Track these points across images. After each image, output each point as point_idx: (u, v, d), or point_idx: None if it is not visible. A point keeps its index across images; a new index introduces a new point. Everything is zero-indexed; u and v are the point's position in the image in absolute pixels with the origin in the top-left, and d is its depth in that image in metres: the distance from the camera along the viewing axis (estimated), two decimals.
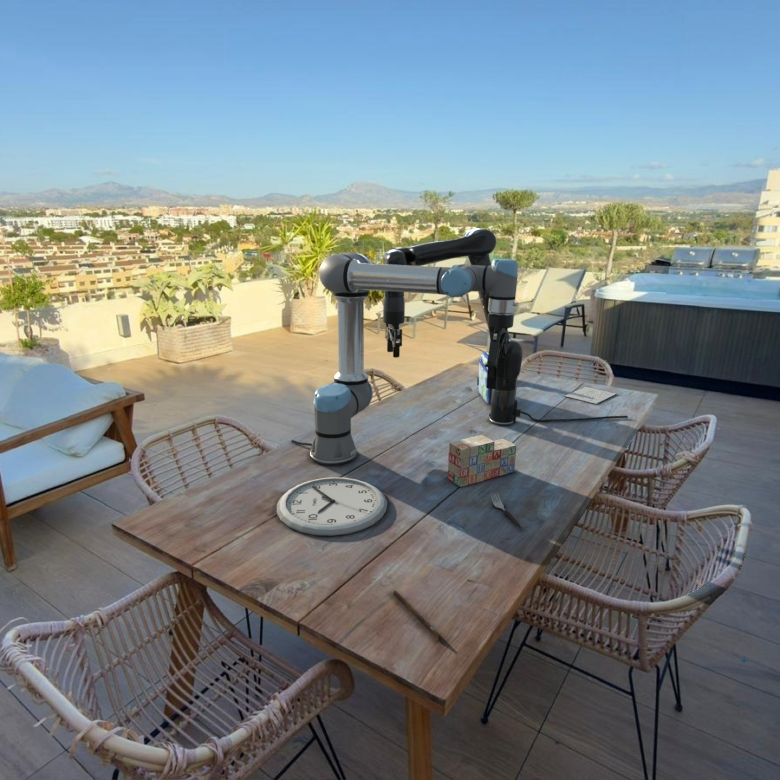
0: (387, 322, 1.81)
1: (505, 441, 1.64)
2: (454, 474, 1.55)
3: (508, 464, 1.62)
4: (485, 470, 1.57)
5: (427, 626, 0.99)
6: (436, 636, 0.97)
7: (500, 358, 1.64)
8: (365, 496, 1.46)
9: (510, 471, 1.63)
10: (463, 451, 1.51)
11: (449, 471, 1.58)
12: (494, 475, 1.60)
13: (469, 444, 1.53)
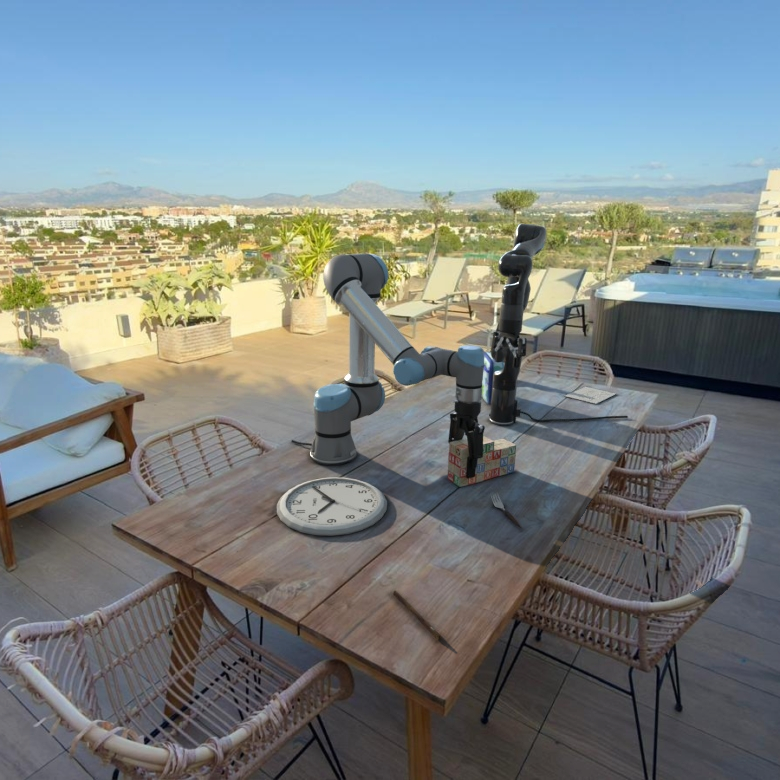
0: None
1: (505, 441, 1.64)
2: (454, 474, 1.55)
3: (508, 464, 1.62)
4: (485, 470, 1.57)
5: (427, 626, 0.99)
6: (436, 636, 0.97)
7: None
8: (365, 496, 1.46)
9: (510, 471, 1.63)
10: (463, 451, 1.51)
11: (449, 471, 1.58)
12: (494, 475, 1.60)
13: None
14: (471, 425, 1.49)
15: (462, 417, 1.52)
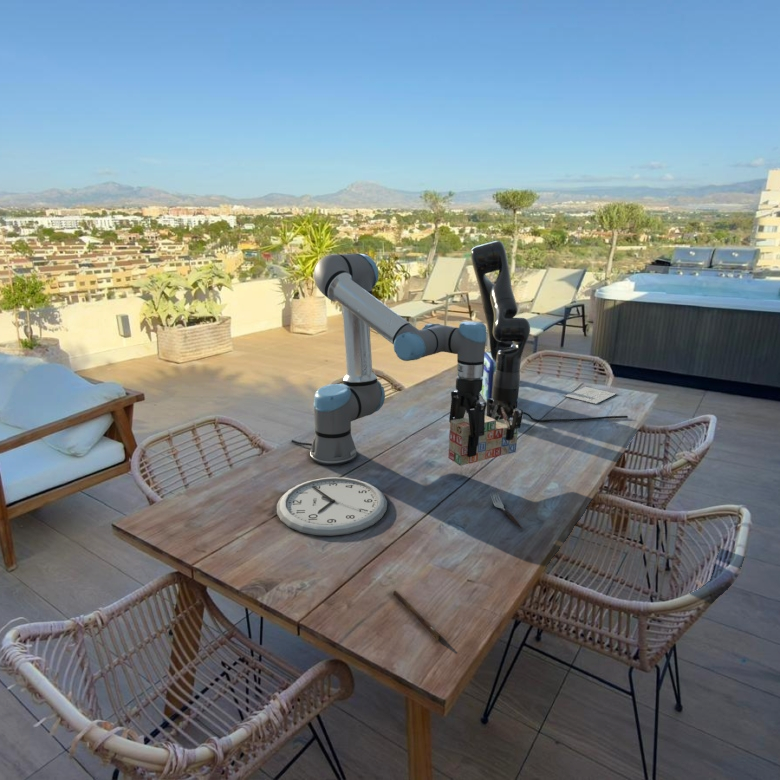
0: None
1: None
2: (455, 453, 1.53)
3: (510, 444, 1.60)
4: (486, 449, 1.55)
5: (427, 626, 0.99)
6: (436, 636, 0.97)
7: None
8: (365, 496, 1.46)
9: (512, 451, 1.61)
10: (464, 429, 1.49)
11: (450, 450, 1.56)
12: (495, 455, 1.58)
13: None
14: (472, 402, 1.47)
15: (463, 394, 1.50)
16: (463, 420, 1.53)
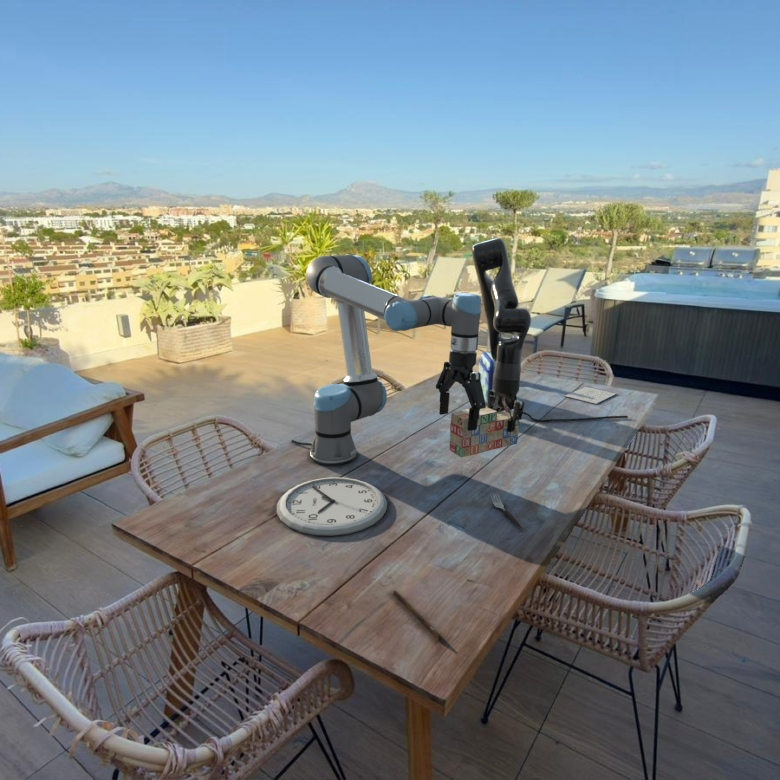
0: None
1: None
2: (456, 445, 1.53)
3: (511, 435, 1.59)
4: (487, 441, 1.55)
5: (427, 626, 0.99)
6: (436, 636, 0.97)
7: None
8: (365, 496, 1.46)
9: (513, 443, 1.60)
10: (465, 420, 1.48)
11: (451, 442, 1.55)
12: (497, 446, 1.58)
13: None
14: (466, 376, 1.44)
15: (456, 372, 1.47)
16: (464, 412, 1.53)
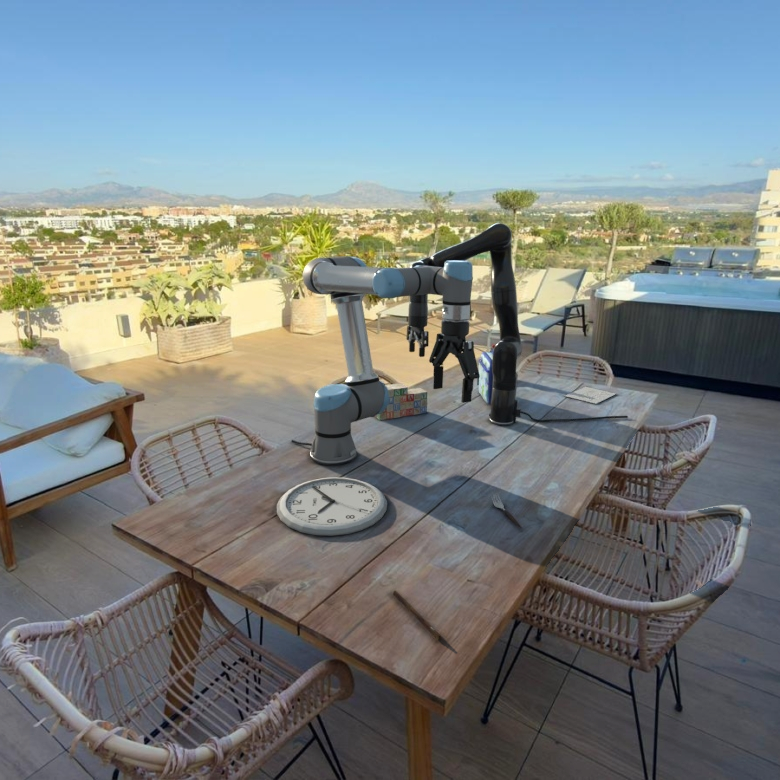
0: None
1: (420, 389, 2.15)
2: None
3: (421, 406, 2.13)
4: (400, 409, 2.09)
5: (427, 626, 0.99)
6: (436, 636, 0.97)
7: None
8: (365, 496, 1.46)
9: (423, 412, 2.14)
10: None
11: None
12: (409, 414, 2.11)
13: None
14: (459, 346, 1.39)
15: (449, 342, 1.43)
16: None
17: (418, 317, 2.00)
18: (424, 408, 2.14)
